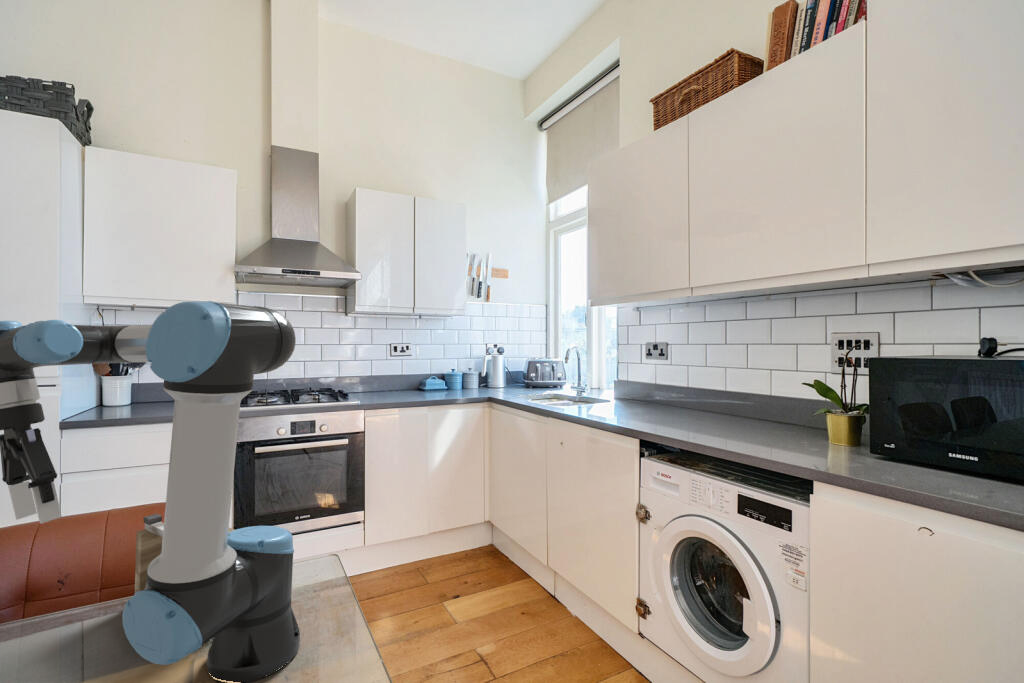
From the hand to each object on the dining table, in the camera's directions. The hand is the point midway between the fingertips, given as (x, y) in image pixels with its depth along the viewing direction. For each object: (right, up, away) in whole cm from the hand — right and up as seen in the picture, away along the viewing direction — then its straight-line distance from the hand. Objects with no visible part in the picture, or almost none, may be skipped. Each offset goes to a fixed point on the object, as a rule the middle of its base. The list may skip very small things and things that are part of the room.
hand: (38, 518), depth 86 cm
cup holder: (+19, -25, +12) cm, 33 cm away
